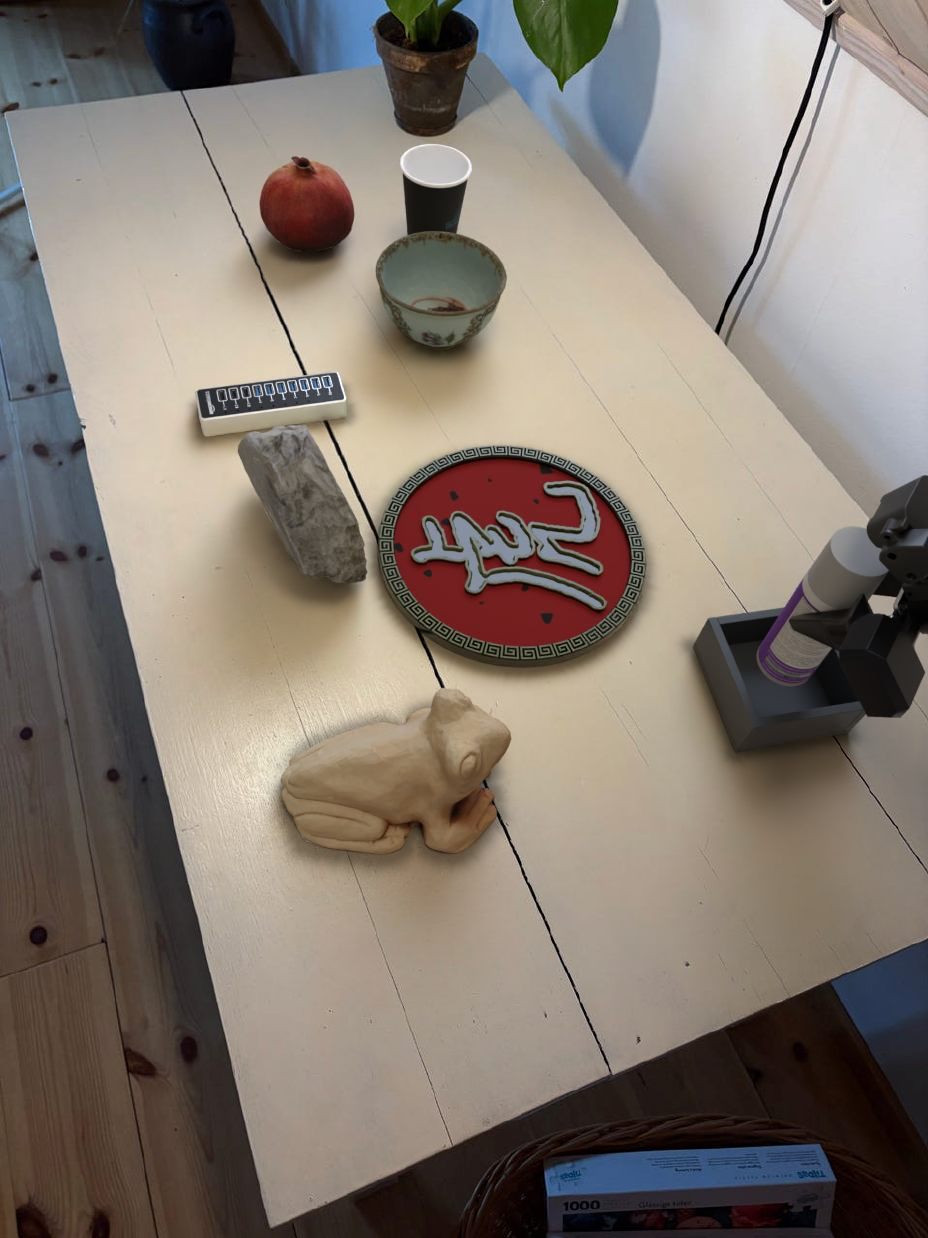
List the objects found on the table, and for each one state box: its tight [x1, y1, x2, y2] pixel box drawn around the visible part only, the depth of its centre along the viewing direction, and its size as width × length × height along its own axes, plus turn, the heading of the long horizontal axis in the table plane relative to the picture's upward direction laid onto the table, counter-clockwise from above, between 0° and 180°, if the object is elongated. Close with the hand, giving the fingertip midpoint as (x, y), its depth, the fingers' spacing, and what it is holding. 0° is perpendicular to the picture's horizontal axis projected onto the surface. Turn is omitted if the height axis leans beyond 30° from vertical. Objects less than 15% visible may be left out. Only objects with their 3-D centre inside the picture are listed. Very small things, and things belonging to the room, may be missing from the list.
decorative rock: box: [237, 424, 368, 585], centre depth 81 cm, size 16×7×15 cm, turn 28°
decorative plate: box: [377, 444, 647, 668], centre depth 88 cm, size 25×1×25 cm
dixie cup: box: [399, 143, 473, 235], centre depth 108 cm, size 8×8×11 cm
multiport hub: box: [194, 371, 348, 437], centre depth 95 cm, size 4×14×2 cm, turn 106°
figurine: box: [280, 687, 512, 855], centre depth 71 cm, size 12×17×10 cm
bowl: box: [375, 231, 508, 351], centre depth 101 cm, size 14×13×8 cm
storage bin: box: [692, 606, 867, 753], centre depth 81 cm, size 11×11×5 cm
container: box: [757, 525, 889, 686], centre depth 72 cm, size 5×5×15 cm
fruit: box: [258, 155, 355, 253], centre depth 107 cm, size 11×10×10 cm
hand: (803, 601), depth 72 cm, fingers closed on container, 5 cm apart
